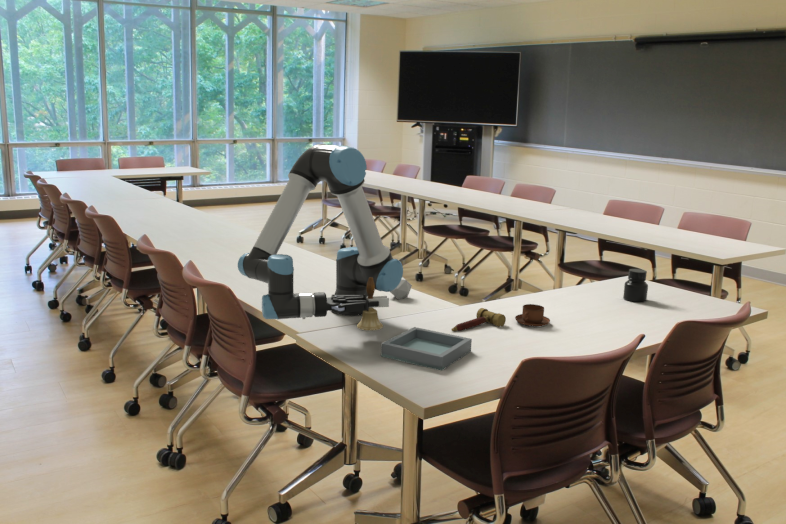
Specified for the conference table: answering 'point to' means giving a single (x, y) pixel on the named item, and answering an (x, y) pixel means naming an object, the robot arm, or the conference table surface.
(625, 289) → the ink bottle
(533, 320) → the cup and saucer
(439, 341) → the box
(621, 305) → the conference table surface
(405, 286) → the grey polyhedron block
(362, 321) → the hand bell
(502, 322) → the gavel
